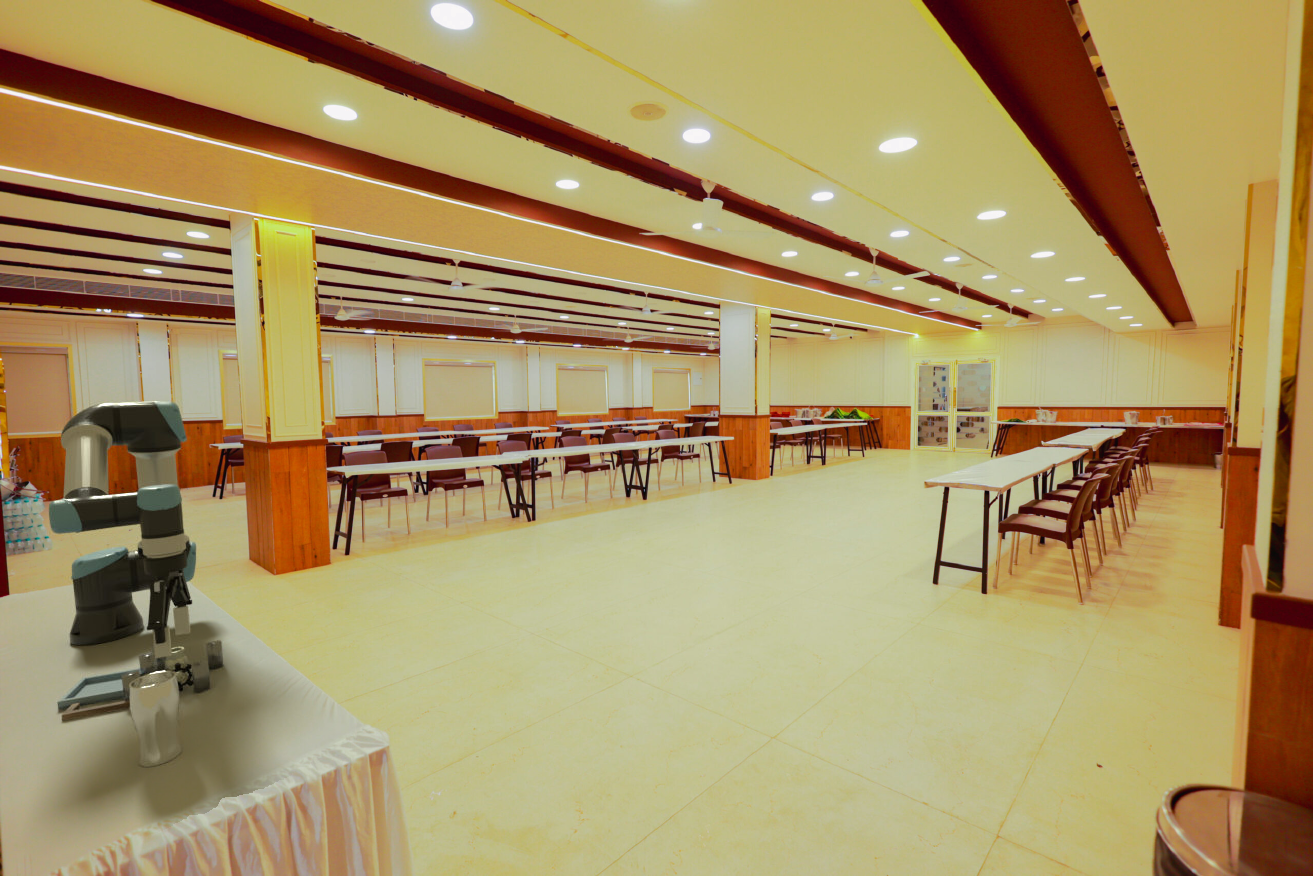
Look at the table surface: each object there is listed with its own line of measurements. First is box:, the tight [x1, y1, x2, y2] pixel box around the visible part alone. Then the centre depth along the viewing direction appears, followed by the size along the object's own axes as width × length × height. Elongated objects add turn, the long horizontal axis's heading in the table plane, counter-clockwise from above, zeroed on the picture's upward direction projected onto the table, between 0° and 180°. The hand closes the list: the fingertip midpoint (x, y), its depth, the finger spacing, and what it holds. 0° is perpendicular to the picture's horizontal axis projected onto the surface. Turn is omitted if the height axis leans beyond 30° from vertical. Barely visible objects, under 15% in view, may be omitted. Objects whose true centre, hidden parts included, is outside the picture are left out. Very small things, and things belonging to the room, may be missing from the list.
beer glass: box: [129, 670, 183, 768], centre depth 109 cm, size 7×7×15 cm
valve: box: [163, 646, 193, 693], centre depth 138 cm, size 7×7×12 cm
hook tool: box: [61, 700, 130, 721], centre depth 128 cm, size 5×14×1 cm, turn 114°
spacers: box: [122, 639, 224, 701], centre depth 139 cm, size 20×16×6 cm
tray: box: [57, 667, 141, 711], centre depth 134 cm, size 12×12×2 cm
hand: (173, 644), depth 136 cm, fingers open, 13 cm apart
